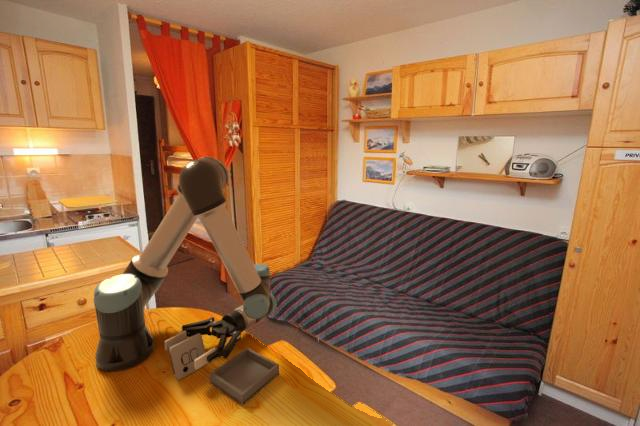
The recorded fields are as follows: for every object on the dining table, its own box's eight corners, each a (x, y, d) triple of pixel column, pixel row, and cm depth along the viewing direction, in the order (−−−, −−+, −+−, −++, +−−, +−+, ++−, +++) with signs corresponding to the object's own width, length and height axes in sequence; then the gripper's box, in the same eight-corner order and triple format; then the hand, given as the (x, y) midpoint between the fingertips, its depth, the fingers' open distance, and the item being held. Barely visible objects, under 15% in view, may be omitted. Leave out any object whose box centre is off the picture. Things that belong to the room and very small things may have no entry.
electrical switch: (177, 382, 88) (173, 350, 86) (168, 375, 91) (163, 344, 90) (208, 364, 95) (204, 335, 94) (198, 358, 98) (195, 329, 97)
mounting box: (210, 383, 88) (209, 373, 87) (247, 356, 99) (247, 347, 98) (242, 405, 81) (242, 395, 80) (279, 373, 92) (279, 364, 91)
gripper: (266, 344, 101) (209, 386, 84) (214, 318, 115) (155, 349, 98) (266, 323, 99) (208, 361, 82) (213, 298, 113) (153, 327, 96)
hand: (179, 355), depth 90 cm, fingers open, 13 cm apart
